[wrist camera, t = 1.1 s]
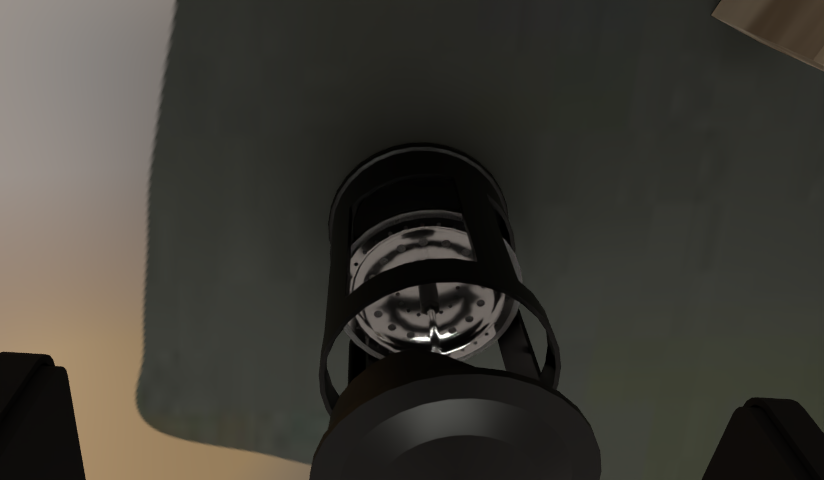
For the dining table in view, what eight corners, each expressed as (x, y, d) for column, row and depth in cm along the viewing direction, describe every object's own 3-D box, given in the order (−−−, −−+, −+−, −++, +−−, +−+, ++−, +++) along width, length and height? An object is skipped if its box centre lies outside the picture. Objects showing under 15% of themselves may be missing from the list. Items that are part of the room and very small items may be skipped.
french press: (387, 97, 31) (424, 504, 11) (549, 180, 34) (807, 628, 14) (286, 283, 36) (189, 800, 16) (435, 344, 39) (509, 851, 19)
